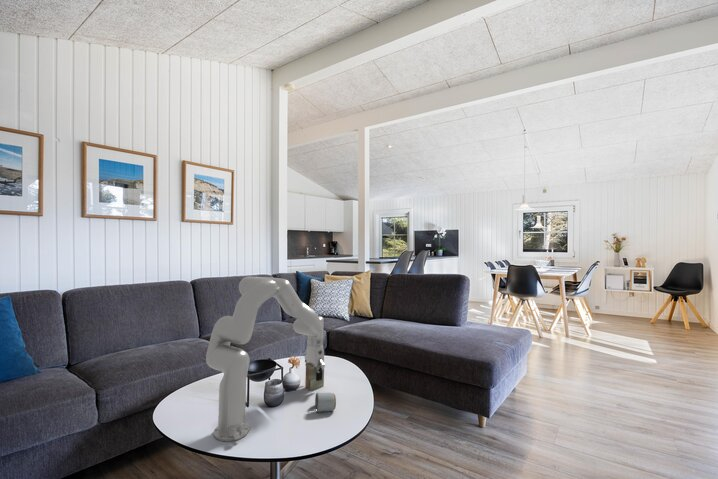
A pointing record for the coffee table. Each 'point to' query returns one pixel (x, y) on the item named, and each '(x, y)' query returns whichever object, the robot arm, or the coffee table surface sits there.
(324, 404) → the ceramic mug
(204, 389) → the coffee table surface
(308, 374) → the slab
